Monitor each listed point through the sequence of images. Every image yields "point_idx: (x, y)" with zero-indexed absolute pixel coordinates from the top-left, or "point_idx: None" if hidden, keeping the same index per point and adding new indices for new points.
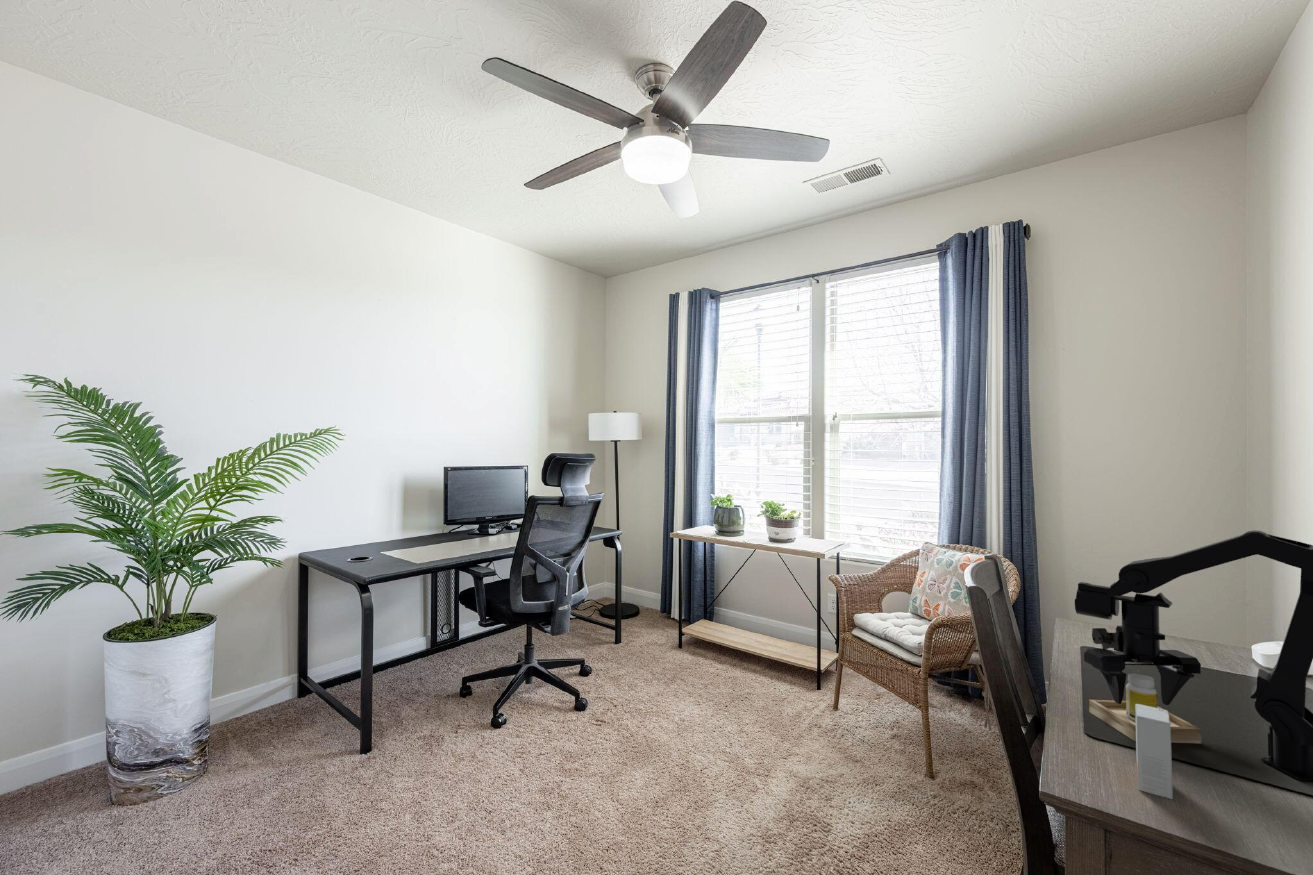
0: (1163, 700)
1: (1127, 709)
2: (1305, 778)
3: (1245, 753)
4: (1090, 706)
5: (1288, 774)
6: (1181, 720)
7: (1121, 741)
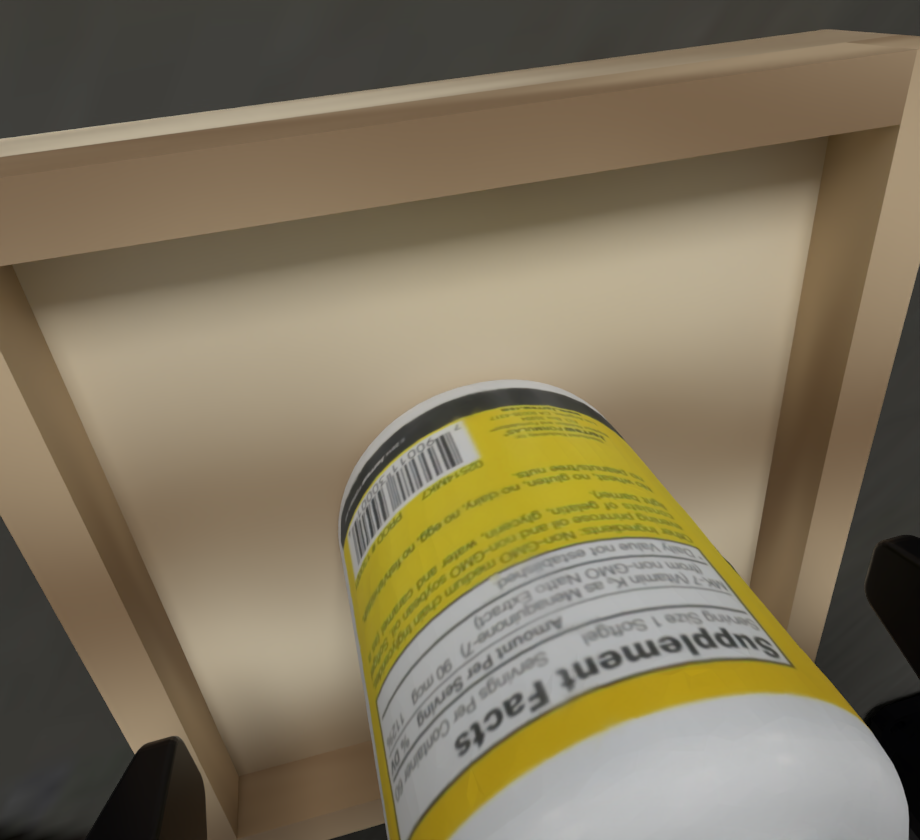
0: (907, 587)
1: (346, 582)
2: None
3: (883, 648)
4: None
5: None
6: (809, 582)
7: (83, 795)
